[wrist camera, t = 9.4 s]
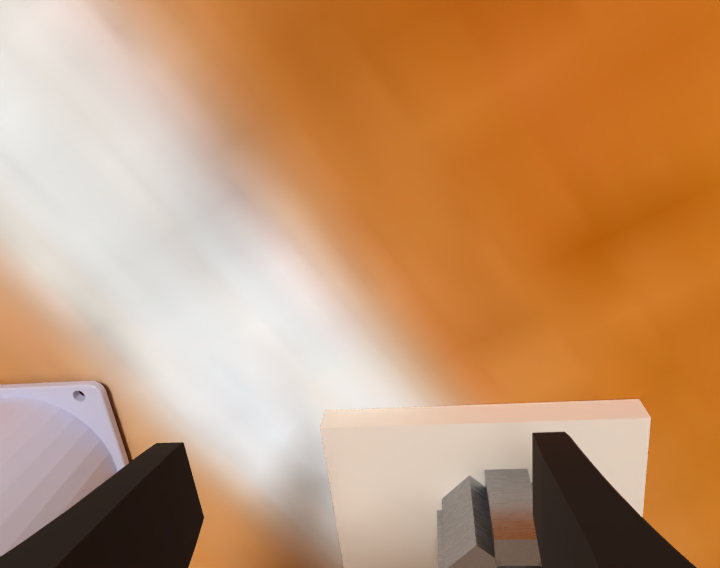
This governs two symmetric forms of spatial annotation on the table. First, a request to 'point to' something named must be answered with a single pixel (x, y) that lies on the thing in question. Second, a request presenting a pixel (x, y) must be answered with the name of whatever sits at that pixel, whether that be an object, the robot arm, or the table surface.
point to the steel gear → (488, 522)
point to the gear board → (457, 465)
